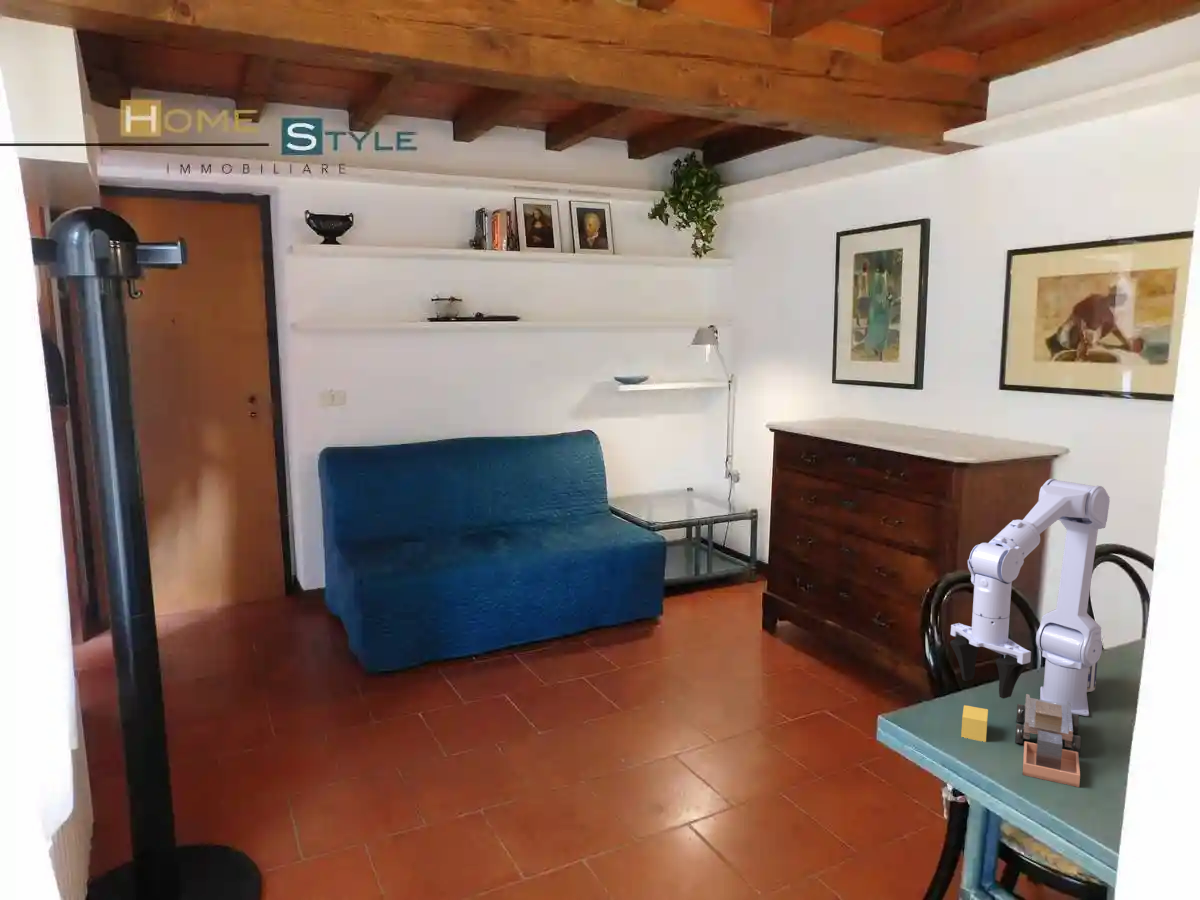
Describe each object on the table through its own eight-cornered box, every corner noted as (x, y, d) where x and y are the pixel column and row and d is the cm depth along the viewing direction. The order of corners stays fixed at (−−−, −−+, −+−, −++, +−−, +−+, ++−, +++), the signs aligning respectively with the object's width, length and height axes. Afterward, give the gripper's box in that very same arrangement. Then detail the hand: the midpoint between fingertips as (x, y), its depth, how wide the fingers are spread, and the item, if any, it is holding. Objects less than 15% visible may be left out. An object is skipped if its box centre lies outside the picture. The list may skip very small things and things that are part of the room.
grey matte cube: (1035, 758, 137) (1037, 730, 137) (1059, 762, 136) (1061, 735, 135) (1035, 768, 134) (1038, 739, 134) (1060, 773, 133) (1062, 744, 132)
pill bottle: (1076, 679, 168) (1080, 634, 166) (1101, 689, 163) (1105, 643, 162) (1058, 683, 166) (1061, 638, 164) (1082, 694, 161) (1086, 648, 159)
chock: (962, 725, 150) (964, 705, 149) (986, 730, 148) (988, 709, 148) (961, 737, 146) (962, 716, 145) (985, 742, 144) (987, 721, 143)
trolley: (1016, 716, 153) (1018, 687, 152) (1076, 728, 148) (1079, 698, 147) (1014, 746, 142) (1016, 715, 141) (1079, 759, 138) (1082, 727, 137)
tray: (1023, 752, 140) (1024, 741, 140) (1077, 763, 137) (1078, 752, 136) (1022, 774, 133) (1023, 763, 133) (1079, 787, 130) (1080, 775, 129)
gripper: (940, 604, 144) (936, 676, 146) (1012, 631, 131) (1006, 710, 133) (968, 597, 147) (964, 668, 149) (1041, 623, 134) (1035, 701, 136)
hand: (986, 687), depth 142 cm, fingers open, 7 cm apart
